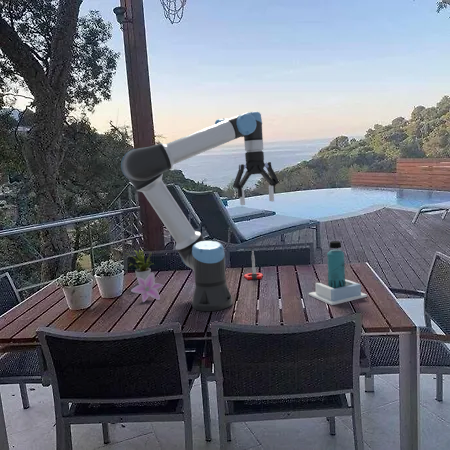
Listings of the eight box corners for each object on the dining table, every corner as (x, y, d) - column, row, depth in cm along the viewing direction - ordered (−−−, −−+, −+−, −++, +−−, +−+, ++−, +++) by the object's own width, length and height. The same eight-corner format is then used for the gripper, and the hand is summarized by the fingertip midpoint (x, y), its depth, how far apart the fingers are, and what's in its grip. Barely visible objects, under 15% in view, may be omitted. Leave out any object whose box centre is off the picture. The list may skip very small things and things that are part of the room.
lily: (127, 304, 174) (130, 287, 169) (136, 285, 184) (138, 268, 179) (157, 311, 174) (160, 294, 169) (163, 292, 184) (166, 275, 179)
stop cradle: (331, 305, 153) (331, 292, 152) (308, 295, 166) (308, 283, 165) (367, 296, 159) (366, 284, 159) (342, 287, 172) (342, 275, 171)
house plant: (120, 283, 202) (117, 249, 199) (146, 276, 211) (143, 244, 208) (136, 289, 191) (132, 253, 188) (162, 281, 200) (159, 247, 197)
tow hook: (243, 275, 201) (245, 280, 192) (241, 248, 200) (243, 251, 191) (261, 274, 202) (264, 279, 192) (260, 247, 200) (262, 250, 191)
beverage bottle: (327, 296, 160) (325, 243, 157) (328, 290, 167) (326, 239, 164) (346, 296, 159) (344, 243, 156) (345, 291, 165) (344, 239, 162)
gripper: (276, 149, 185) (278, 199, 188) (222, 153, 175) (226, 205, 178) (285, 148, 178) (288, 200, 181) (230, 152, 168) (234, 207, 172)
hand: (257, 203), depth 180 cm, fingers open, 13 cm apart
